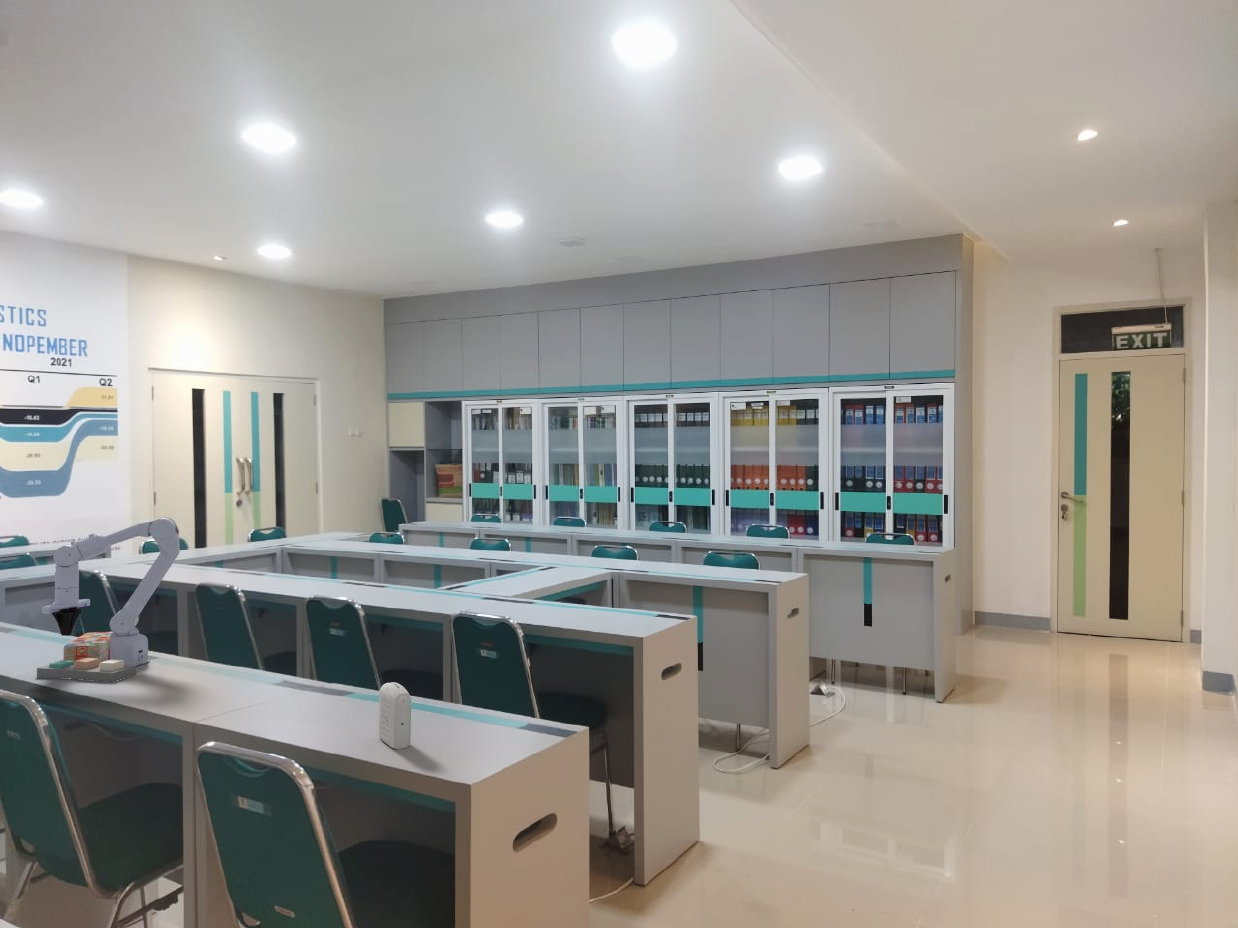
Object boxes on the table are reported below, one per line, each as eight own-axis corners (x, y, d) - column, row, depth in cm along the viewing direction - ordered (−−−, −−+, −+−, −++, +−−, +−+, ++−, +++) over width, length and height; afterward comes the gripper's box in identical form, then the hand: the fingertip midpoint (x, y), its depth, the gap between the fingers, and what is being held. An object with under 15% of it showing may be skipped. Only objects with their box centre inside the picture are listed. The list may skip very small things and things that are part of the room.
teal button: (73, 673, 234) (74, 660, 234) (61, 676, 230) (61, 664, 230) (61, 672, 235) (61, 660, 235) (49, 676, 231) (49, 663, 231)
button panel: (135, 675, 232) (135, 666, 232) (113, 682, 225) (113, 672, 225) (61, 670, 237) (61, 661, 237) (36, 677, 229) (36, 668, 229)
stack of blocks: (62, 668, 240) (111, 665, 243) (62, 646, 240) (111, 643, 243) (87, 652, 260) (131, 650, 264) (87, 632, 260) (131, 630, 264)
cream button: (123, 672, 231) (124, 659, 231) (112, 676, 227) (112, 663, 227) (111, 671, 232) (111, 659, 232) (99, 675, 228) (99, 662, 228)
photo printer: (413, 747, 175) (414, 687, 175) (393, 751, 172) (394, 690, 172) (395, 734, 183) (396, 677, 183) (376, 737, 180) (376, 680, 181)
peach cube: (98, 671, 232) (98, 658, 232) (87, 674, 228) (87, 661, 228) (86, 670, 233) (86, 657, 233) (74, 673, 229) (74, 660, 229)
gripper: (75, 583, 248) (75, 629, 248) (32, 590, 233) (32, 639, 233) (96, 584, 246) (95, 630, 246) (54, 591, 232) (53, 640, 232)
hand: (66, 635), depth 240 cm, fingers closed
